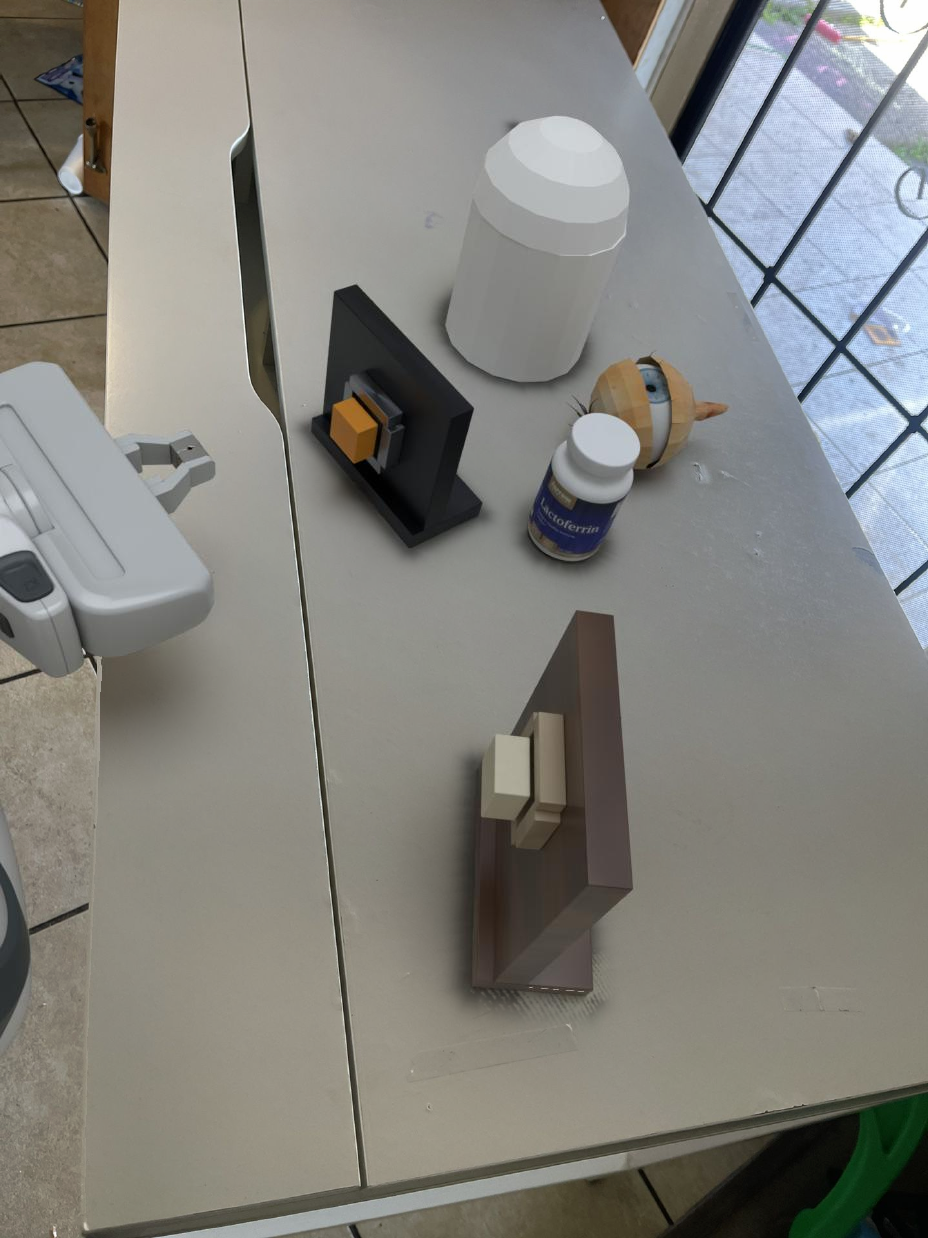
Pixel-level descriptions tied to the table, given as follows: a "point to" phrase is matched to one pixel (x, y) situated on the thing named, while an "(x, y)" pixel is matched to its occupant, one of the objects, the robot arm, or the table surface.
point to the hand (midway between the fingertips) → (203, 453)
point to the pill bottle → (584, 487)
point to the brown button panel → (557, 827)
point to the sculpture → (651, 406)
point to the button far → (353, 430)
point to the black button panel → (397, 421)
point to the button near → (505, 777)
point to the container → (538, 249)
